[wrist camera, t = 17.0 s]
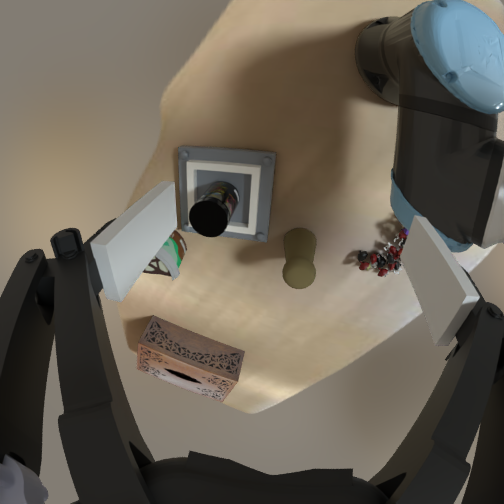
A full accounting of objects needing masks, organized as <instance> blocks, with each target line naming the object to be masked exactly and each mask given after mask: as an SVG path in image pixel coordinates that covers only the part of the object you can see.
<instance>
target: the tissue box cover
mask: <svg viewBox="0 0 504 504" xmlns="http://www.w3.org/2000/svg"><path fill="white" fill-rule="evenodd" d="M244 353H245V351H242V350H240V349H237V348H234V347H231V346H228V345H226V344H223V343H220V342H217V341H215V340H212V339H209V338H207V337H204V336H202V335H199V334H197V333H194V332H192V331H189V330H187V329H184V328H182V327H179V326H177V325H175V324H172V323H170V322H168V321H165V320H163V319H161V318H158V317H156V316H154V315H153V316H152V318H151V320H150V322H149V324H148V325H147V327H146V329H145V331H144V333H143V335H142V336H141V338H140V340H139V342H138V352H137V369H138V370H140V371H143V372H145V373H147V374H149V375H152V376H154V377H156V378H159V379H161V380H163V381H166V382H168V383H171V384H173V385H175V386H178V387H181V388H183V389H186V390H189V391H191V392H194V393H197V394H199V395H202V396H205V397H208V398H211V399H214V400H217V401H220V402H223V401H224V399H225V398H226V397H227V395H228V394H229V393H230V392H231V390H232V389H233V388H234V386H235V385H236V384H237V382H238V379H239V375H240V370H241V366H242V361H243V357H244Z"/></svg>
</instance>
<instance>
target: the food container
mask: <svg viewBox="0 0 504 504" xmlns="http://www.w3.org/2000/svg"><path fill="white" fill-rule="evenodd" d="M186 250H187V248H186V244H185V241H184V239H183V238H182V236H181V235H180V234H179V233H178V232H177V231H176V230H174V231H173V232H172V234H171V235H170V236H169V238H168V239H167V240H166V241H165V243H164V244H163V245H162V247H161V248H160V249H159V251H158V252H157V253H156V255H155V256H154V257H153V259H152V260H151V261H150V263H149V264H148V265H147V267H146V268H145V269H144V271H143V272H144V273H150V274H161V275H167V276H171V277H172V281H173V280H174V278H175V279H176V278H177V277H178V276H179V274H180V273H179V269H178V268H179V266H180V264H181V261H182V259H183V257H184V255H185V252H186Z"/></svg>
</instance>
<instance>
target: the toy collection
mask: <svg viewBox="0 0 504 504" xmlns="http://www.w3.org/2000/svg"><path fill="white" fill-rule="evenodd" d="M401 230H402V231H401V232H400V233H399V237H398V235H397V234H396V236H397V239H398V238H399V239H401V241H400V242H399V247H400V243H401V242H402V243H401V246H402V245H403V247H404V245H405V242H406V239H407V236H408V233H409V231H408V230H407V229H406V228H405V227H404V229H401ZM395 241H396V238H394V242H395ZM388 245H389V246H386V247H388V248H390V249H388V248H387V249H386V248H385V247H384V249H385V251H386V250H389V252H388V253H387V255H388V256H387V264H388V270H387V269H384V268H382V269H380V268H381V267H383V266H384V265H385V264H386V260H385V258H386V255H385V256H384V254H377V255H375V254H372V255H371V256H370V263H368V262H361V261H363V260H364V259H366V258H367V255H368V253H367V251H363V252H361V251H359V252H360V253H359V254H358V261H359V262H360V263H361V265H360V267H359V269H360V270H364V269H367V271H368V269H370V268H373V267H374V268H375V269H376V267H375V266H377V268H378V269H379V270H380V271H379V273H378V276H381V277H382V276H384V275H385V277H386V275H388V271H389V272H391V271H392V270H395V271H398V272H395V271H394V273H395V274H396V273H398V274H399V272H400V270H402V269H401V268H399V265H400V266H401V264H400V263H399V261H397V260H396V259H398V258H399V260H401V259H400V255H401V253H402V250H403V249H402V248H401V247H400V249H399V251H397V249H396V248H395V247H394V246H393V245H391V244H390V243H389V242H388ZM390 253H391V254H392V255H390ZM382 255H383V257H382ZM384 257H385V258H384ZM376 261H377V262H376ZM376 264H377V265H376ZM371 265H374V266H373V267H372V266H371ZM403 266H404V265H403ZM393 268H394V269H393Z"/></svg>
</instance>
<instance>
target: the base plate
mask: <svg viewBox="0 0 504 504" xmlns="http://www.w3.org/2000/svg"><path fill="white" fill-rule="evenodd" d="M178 159H179V189H180V210H181V226H182V231H185V232H193V233H197V232H196V231H195V230H194V229H193V227H192V226H191V224H190V221H189V212H190V209H191V208H192V206H193V205H194V204H195V202H196V201H197V200H198V199H199V198H200V197H201V196H202V195H203V193H204V192H205V191H206V190H207V189H208V188H209V187H210V185H212V184H213V183H215V182H218V181H225V182H229V183H231V184H232V185H233V186H235V188H236V189H237V190H238V193H239V196H240V200H239V204H238V206H237V208H236V210H235V212H234V214H233V216H232V218H231V220H230V222H229V224H228V226H227V228H226V230H225V231H224V232H223V233H222V234H221V235H219V236H223V237H231V238H238V239H246V240H253V241H260V242H267V238H268V229H269V220H270V210H271V200H272V190H273V180H274V170H275V160H276V152H268V151H258V150H248V149H236V148H222V147H205V146H180V147H178Z"/></svg>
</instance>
